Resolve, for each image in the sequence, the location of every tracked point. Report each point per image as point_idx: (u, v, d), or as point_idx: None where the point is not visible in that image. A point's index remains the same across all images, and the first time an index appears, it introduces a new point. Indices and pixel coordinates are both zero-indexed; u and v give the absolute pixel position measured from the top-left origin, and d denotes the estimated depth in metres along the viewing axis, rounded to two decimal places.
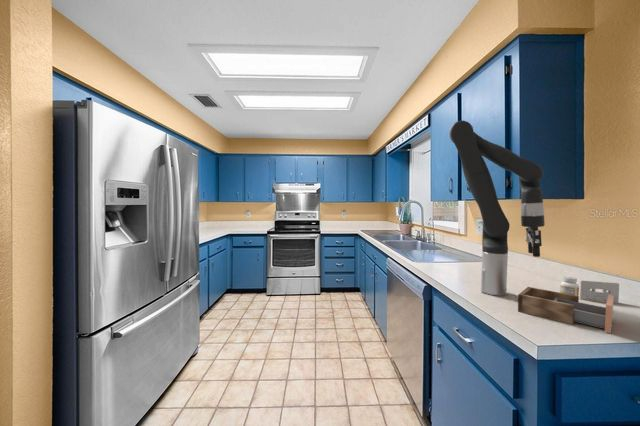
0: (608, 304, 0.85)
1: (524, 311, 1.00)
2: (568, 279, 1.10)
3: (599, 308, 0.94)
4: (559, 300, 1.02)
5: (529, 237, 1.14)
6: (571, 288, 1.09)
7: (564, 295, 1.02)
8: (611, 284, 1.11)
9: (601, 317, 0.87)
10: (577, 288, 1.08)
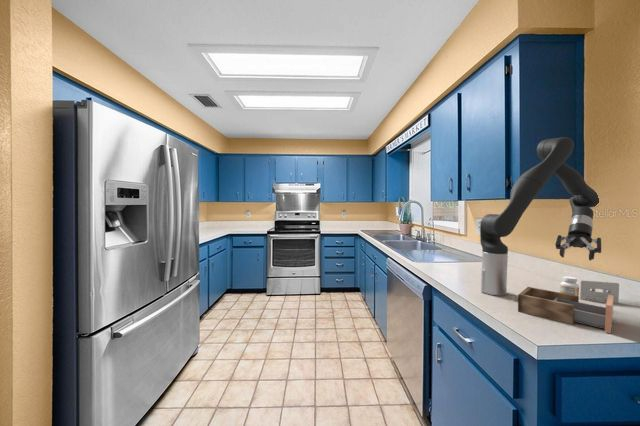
0: (608, 304, 0.85)
1: (524, 311, 1.00)
2: (568, 279, 1.10)
3: (599, 308, 0.94)
4: (559, 300, 1.02)
5: (586, 242, 1.18)
6: (571, 288, 1.09)
7: (564, 295, 1.02)
8: (611, 284, 1.11)
9: (601, 317, 0.87)
10: (577, 288, 1.08)
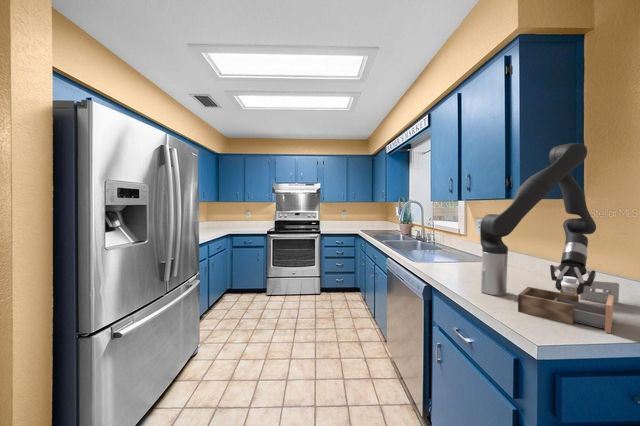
0: (608, 304, 0.85)
1: (524, 311, 1.00)
2: (568, 279, 1.10)
3: (599, 308, 0.94)
4: (559, 300, 1.02)
5: (578, 273, 1.11)
6: (571, 288, 1.09)
7: (564, 295, 1.02)
8: (611, 284, 1.11)
9: (601, 317, 0.87)
10: (577, 288, 1.08)
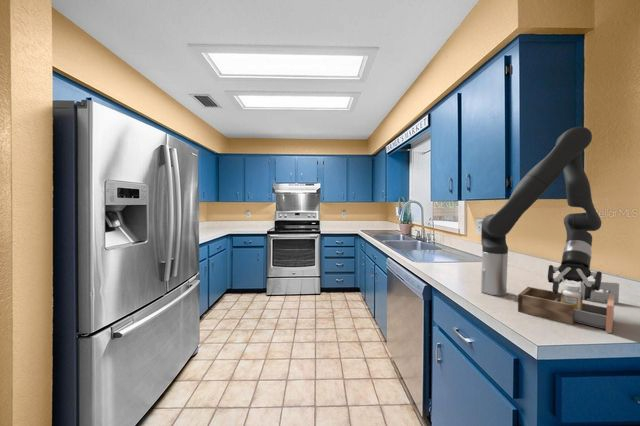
0: (609, 304, 0.85)
1: (524, 311, 1.00)
2: (570, 287, 0.95)
3: (600, 308, 0.94)
4: (560, 300, 1.02)
5: (582, 275, 0.96)
6: (573, 298, 0.94)
7: None
8: (611, 284, 1.11)
9: (602, 317, 0.87)
10: (581, 297, 0.94)
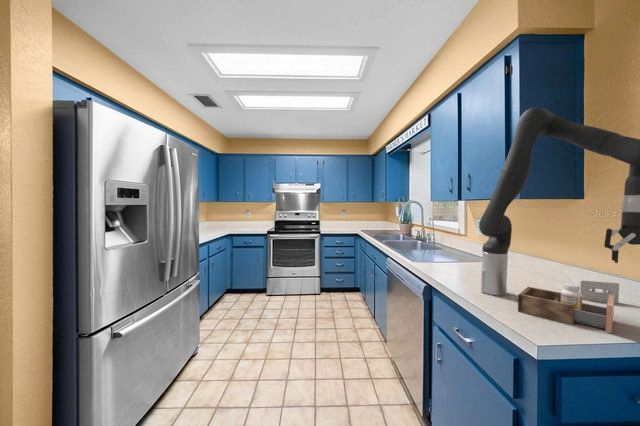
0: (609, 304, 0.85)
1: (524, 311, 1.00)
2: (570, 287, 0.95)
3: (600, 308, 0.94)
4: (560, 300, 1.02)
5: None
6: (573, 298, 0.94)
7: None
8: (611, 284, 1.11)
9: (602, 317, 0.87)
10: (580, 297, 0.94)
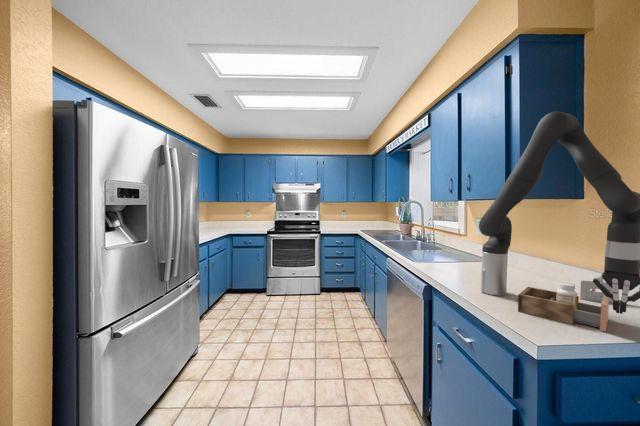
0: (603, 303, 0.86)
1: (524, 311, 1.00)
2: (565, 286, 0.96)
3: (595, 307, 0.95)
4: (555, 299, 1.03)
5: (626, 289, 0.86)
6: (568, 297, 0.95)
7: None
8: None
9: (596, 316, 0.88)
10: (575, 296, 0.95)
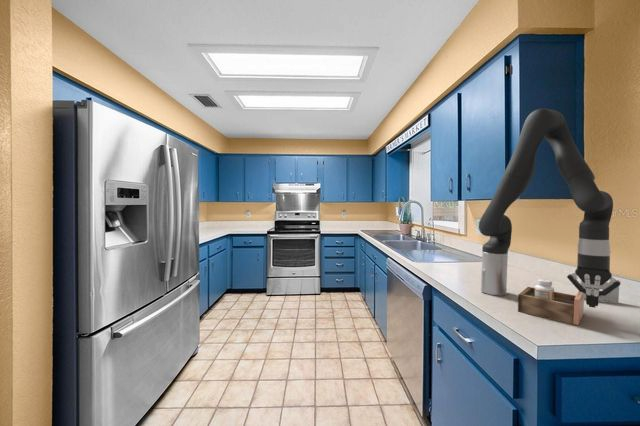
0: (576, 298, 0.91)
1: (524, 311, 1.00)
2: (542, 282, 1.00)
3: (571, 302, 1.00)
4: None
5: (597, 283, 0.90)
6: (545, 292, 0.99)
7: (564, 295, 1.02)
8: None
9: None
10: (552, 292, 0.99)
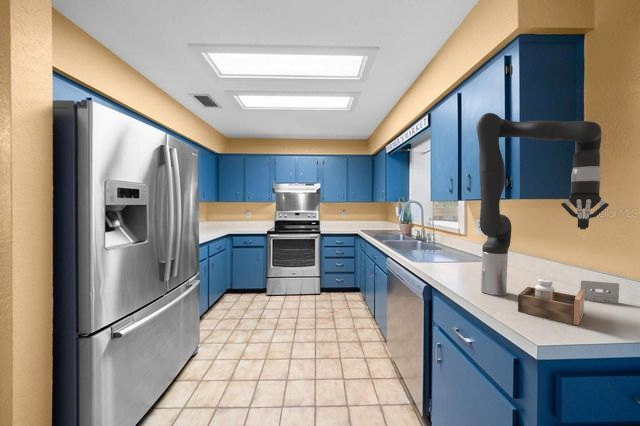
0: (577, 298, 0.91)
1: (524, 311, 1.00)
2: (543, 282, 1.00)
3: (571, 302, 1.00)
4: None
5: (588, 207, 1.00)
6: (545, 292, 0.99)
7: (564, 295, 1.02)
8: (611, 284, 1.11)
9: None
10: (552, 292, 0.99)
